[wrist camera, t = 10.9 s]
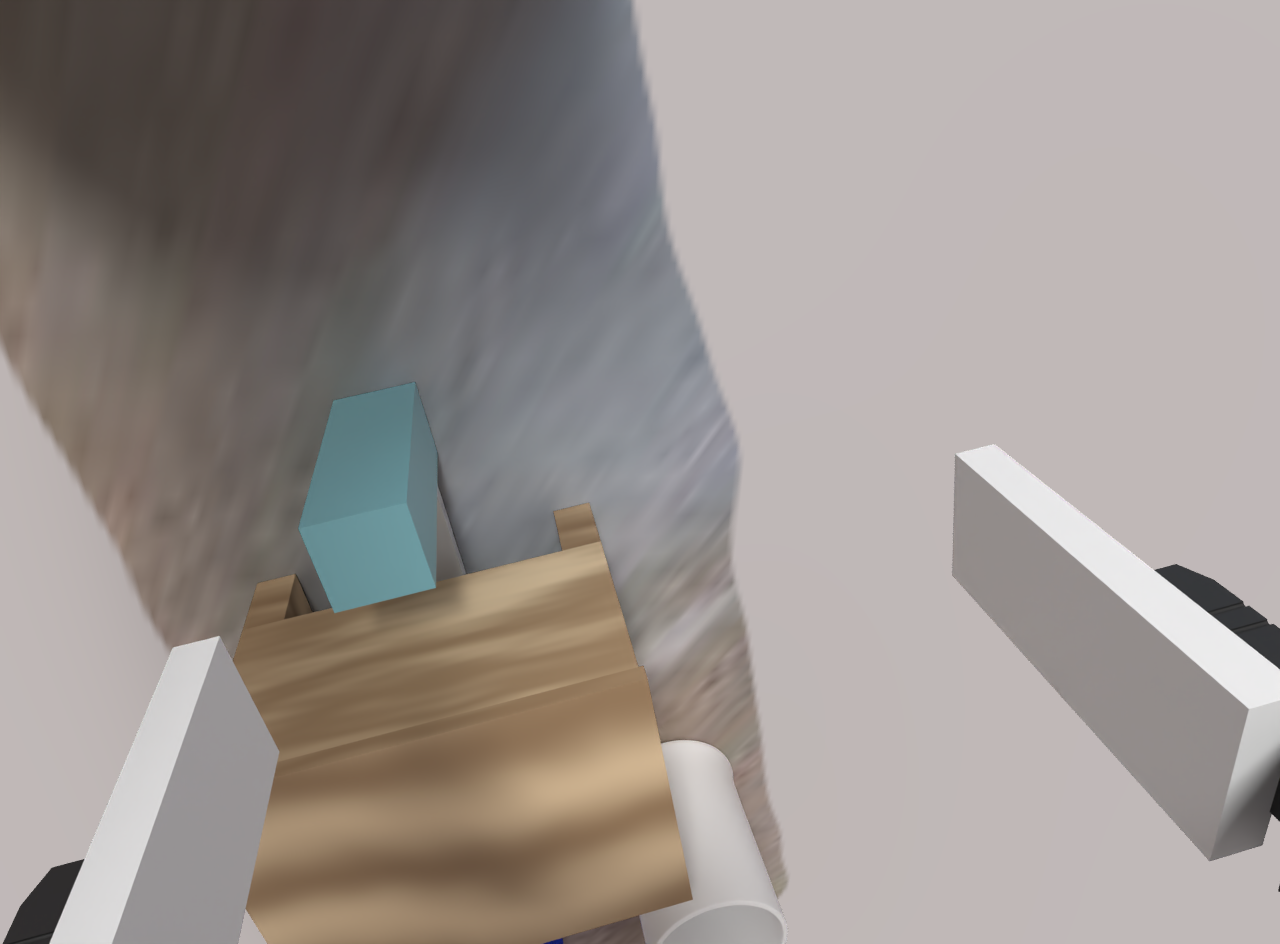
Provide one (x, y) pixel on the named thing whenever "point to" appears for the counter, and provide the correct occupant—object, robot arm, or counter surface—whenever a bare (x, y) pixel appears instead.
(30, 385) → the counter surface
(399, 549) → the teal cube mallet
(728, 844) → the mug
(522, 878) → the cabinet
